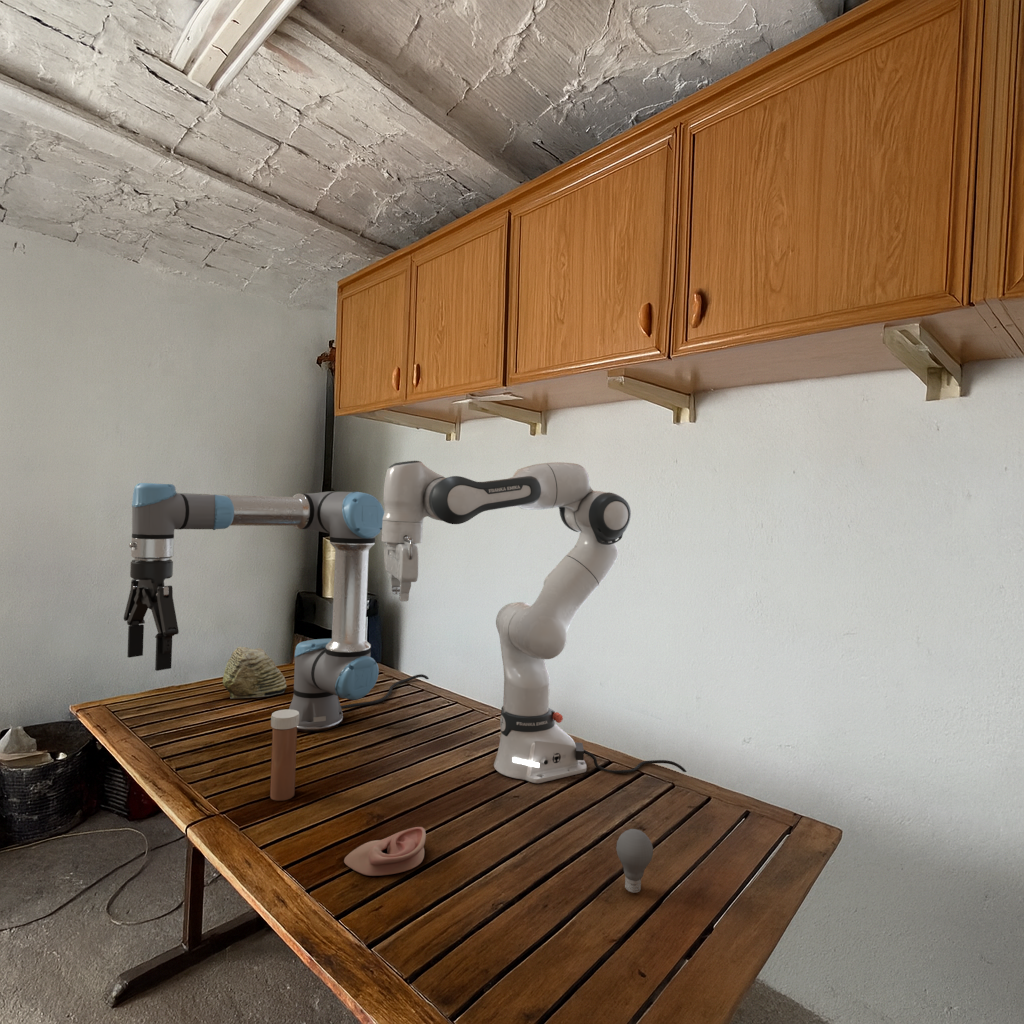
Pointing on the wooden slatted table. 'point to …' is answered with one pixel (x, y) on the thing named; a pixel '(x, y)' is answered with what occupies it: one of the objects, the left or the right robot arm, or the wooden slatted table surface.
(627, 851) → the light bulb
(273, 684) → the fossil
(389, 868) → the anatomical model
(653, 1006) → the wooden slatted table surface
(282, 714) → the lid
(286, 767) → the brown bottle
